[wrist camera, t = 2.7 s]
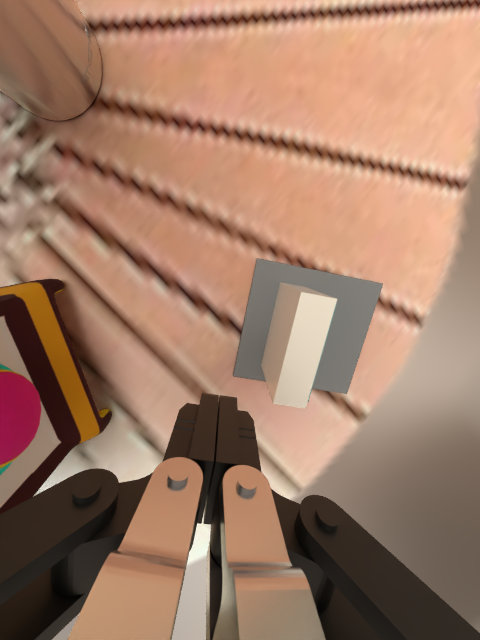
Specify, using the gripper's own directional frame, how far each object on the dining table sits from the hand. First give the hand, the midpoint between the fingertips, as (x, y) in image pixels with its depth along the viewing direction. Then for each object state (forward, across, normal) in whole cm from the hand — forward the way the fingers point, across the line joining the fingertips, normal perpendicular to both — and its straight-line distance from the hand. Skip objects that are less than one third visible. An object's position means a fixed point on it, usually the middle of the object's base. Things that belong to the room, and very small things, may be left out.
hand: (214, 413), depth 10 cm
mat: (+18, -10, 0) cm, 20 cm away
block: (+18, -7, 0) cm, 19 cm away
